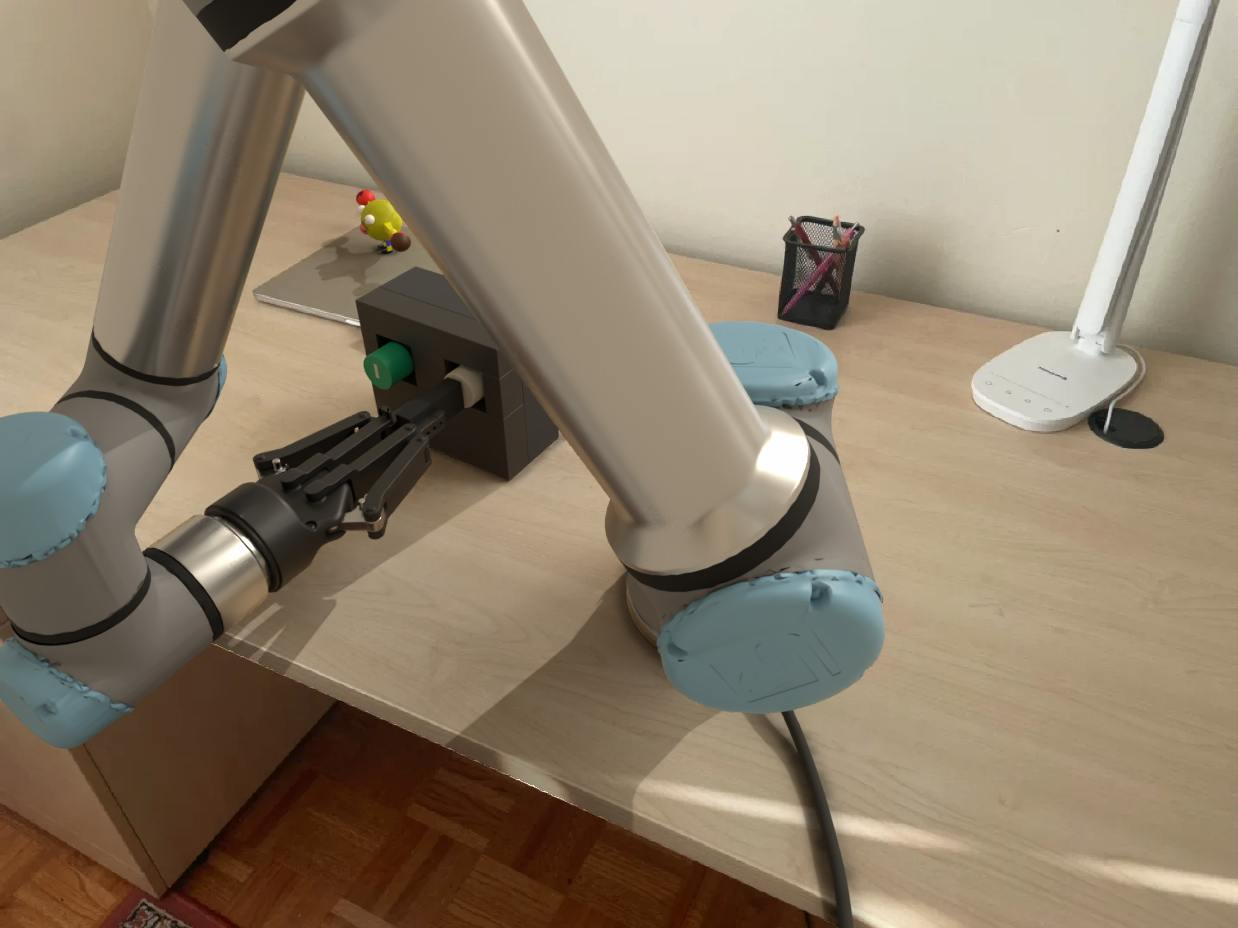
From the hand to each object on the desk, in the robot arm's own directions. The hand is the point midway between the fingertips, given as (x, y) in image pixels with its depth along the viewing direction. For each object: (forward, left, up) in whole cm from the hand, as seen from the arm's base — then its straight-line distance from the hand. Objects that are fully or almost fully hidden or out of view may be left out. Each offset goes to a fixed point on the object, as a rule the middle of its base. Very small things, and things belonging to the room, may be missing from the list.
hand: (455, 392), depth 79 cm
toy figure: (+50, +2, -9) cm, 51 cm away
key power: (+6, +5, -2) cm, 8 cm away
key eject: (+1, -1, -2) cm, 2 cm away
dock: (+6, -1, -9) cm, 11 cm away
